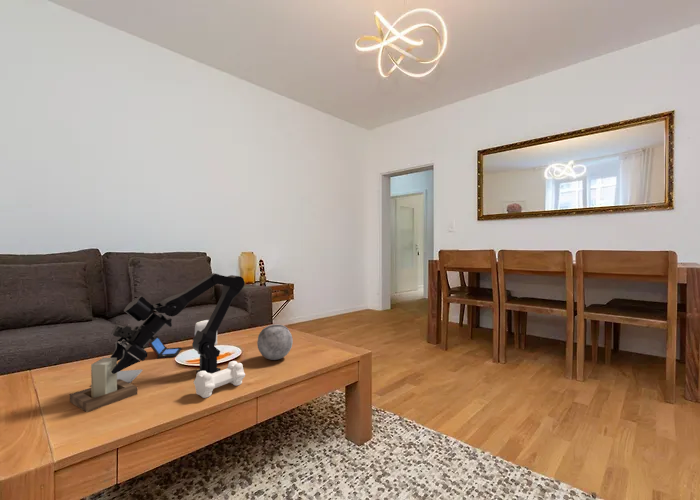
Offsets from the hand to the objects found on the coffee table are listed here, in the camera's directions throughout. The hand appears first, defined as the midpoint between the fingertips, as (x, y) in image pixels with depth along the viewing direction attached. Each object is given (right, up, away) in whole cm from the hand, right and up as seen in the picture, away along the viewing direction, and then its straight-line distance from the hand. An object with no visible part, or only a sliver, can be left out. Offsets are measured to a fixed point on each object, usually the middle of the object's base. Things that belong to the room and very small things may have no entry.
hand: (109, 369), depth 109 cm
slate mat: (-8, -9, +15) cm, 19 cm away
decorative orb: (+46, -9, +36) cm, 59 cm away
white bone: (+34, -9, +6) cm, 35 cm away
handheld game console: (-5, -9, +42) cm, 44 cm away
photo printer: (+8, -8, +55) cm, 56 cm away
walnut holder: (-1, -9, -1) cm, 9 cm away
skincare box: (-1, -9, -1) cm, 9 cm away
